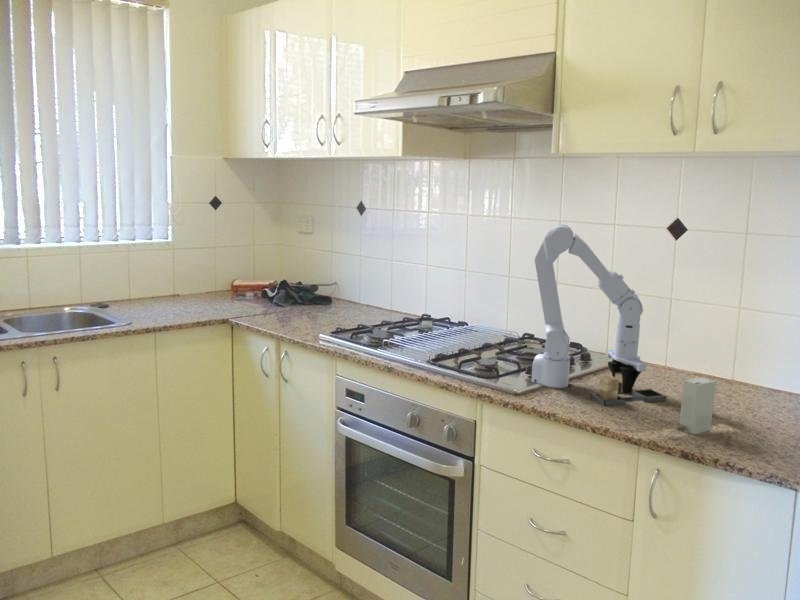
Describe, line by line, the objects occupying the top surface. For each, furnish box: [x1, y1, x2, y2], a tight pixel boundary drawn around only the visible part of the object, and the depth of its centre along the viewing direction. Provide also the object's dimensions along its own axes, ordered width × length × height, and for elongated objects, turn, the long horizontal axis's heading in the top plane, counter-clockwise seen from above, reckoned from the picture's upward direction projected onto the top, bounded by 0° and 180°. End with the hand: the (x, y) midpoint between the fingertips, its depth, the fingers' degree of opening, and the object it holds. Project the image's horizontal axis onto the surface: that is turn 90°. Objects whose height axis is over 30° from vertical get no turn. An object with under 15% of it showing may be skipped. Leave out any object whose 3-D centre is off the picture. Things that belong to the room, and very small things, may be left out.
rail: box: [590, 388, 667, 407], centre depth 180 cm, size 18×6×3 cm, turn 108°
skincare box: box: [678, 376, 717, 435], centre depth 162 cm, size 6×4×12 cm
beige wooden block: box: [615, 372, 623, 394], centre depth 187 cm, size 4×3×6 cm
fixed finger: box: [598, 375, 622, 400], centre depth 178 cm, size 4×3×6 cm
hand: (622, 390), depth 187 cm, fingers closed on beige wooden block, 3 cm apart
